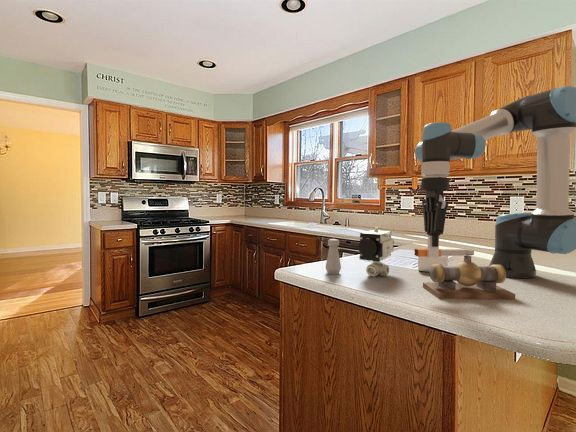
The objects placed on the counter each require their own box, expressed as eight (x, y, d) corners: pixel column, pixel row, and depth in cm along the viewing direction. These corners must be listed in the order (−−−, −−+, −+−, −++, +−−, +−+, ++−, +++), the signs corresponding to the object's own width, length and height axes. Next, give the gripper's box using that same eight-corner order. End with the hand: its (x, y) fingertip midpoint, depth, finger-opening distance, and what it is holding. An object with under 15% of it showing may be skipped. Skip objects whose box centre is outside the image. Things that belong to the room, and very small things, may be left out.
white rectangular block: (446, 275, 127) (446, 254, 127) (417, 272, 132) (418, 252, 131) (448, 269, 138) (448, 250, 137) (421, 267, 142) (422, 248, 142)
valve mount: (491, 287, 111) (492, 253, 110) (515, 299, 99) (517, 260, 98) (422, 287, 111) (423, 252, 110) (438, 298, 99) (439, 259, 98)
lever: (469, 254, 106) (470, 248, 106) (476, 256, 103) (476, 250, 102) (414, 254, 105) (414, 248, 105) (418, 256, 102) (418, 250, 102)
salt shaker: (343, 273, 130) (344, 239, 129) (335, 276, 125) (335, 240, 125) (331, 271, 134) (331, 237, 133) (322, 273, 129) (322, 239, 129)
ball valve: (380, 281, 117) (381, 230, 116) (356, 278, 122) (357, 228, 121) (395, 272, 132) (396, 226, 131) (373, 269, 137) (374, 225, 136)
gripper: (459, 176, 94) (456, 261, 95) (438, 178, 107) (436, 253, 108) (431, 175, 94) (429, 261, 95) (414, 178, 107) (412, 253, 108)
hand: (432, 257), depth 101 cm, fingers closed
